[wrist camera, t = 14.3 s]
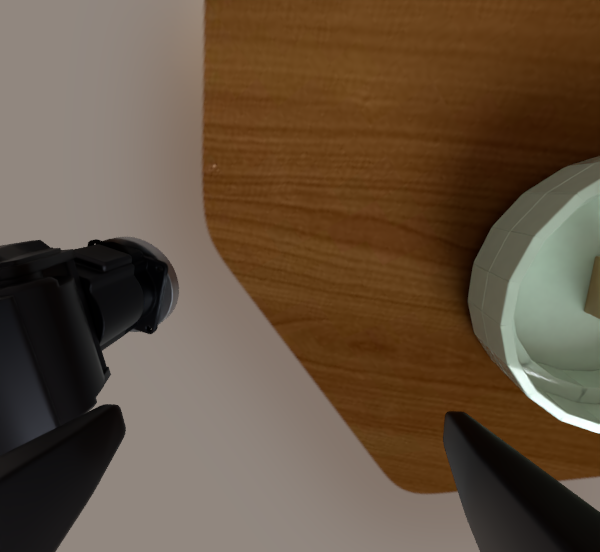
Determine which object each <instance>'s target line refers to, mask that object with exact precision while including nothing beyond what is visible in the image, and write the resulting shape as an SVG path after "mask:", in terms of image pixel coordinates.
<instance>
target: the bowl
mask: <svg viewBox="0 0 600 552" xmlns="http://www.w3.org/2000/svg"><path fill="white" fill-rule="evenodd" d="M596 256H600V156H598V157H595V158H592V159H588V160H585V161H582V162H579V163H576V164H572V165H569V166H567V167H564V168H563V169H561V170H559V171H558V172H556V173H555V174H553V175H551V176H550V177H548V178H547V179H545V180H543V181H542V182H540V183H539V184H537V185H535V186H534V187H532V188H531V189H529V190H528V191H526V192H524V194H522V195H521V196H520V197H519V198H518V199H517V200H516V201H515V202H514V204H513V205H512V206H511V207H510V208H509V209H508V210H507V211H506V212H505V213H504V214H503V215H502V216H501V217H500V219H499V220H498V221H497V222H496V223H495V224H494V225H493V226H492V228H491V229H490V231H489V233H488V235H487V237H486V239H485V241H484V243H483V245H482V247H481V249H480V251H479V253H478V255H477V257H476V259H475V261H474V263H473V268H472V274H471V281H470V287H469V293H468V306H469V311H470V315H471V320H472V325H473V330H474V333H475V335H476V337H477V338H478V340H479V341H480V343H481V344H482V346H483V347H484V349H485V350H486V352H487V354H488V355H489V357H490V358H491V359H492V361H493V362H494V363H495V364H496V365H497V366H498V367H499V368H500V369H501V370H502V371H503V372H504V373H505V374H506V375H507V376H508V377H509V378H510V379H511V380H512V381H513V382H514V383H515V384H516V385H517V386H518V387H519V388H520V389H521V390H522V391H523V392H524V394H525V395H526V396H527V397H528V398H530V399H531V400H533V401H534V402H535V403H537V404H538V405H539V406H541V407H542V408H543V409H545V410H546V411H548V412H549V413H550V414H552V415H553V416H554V417H556V418H557V419H559V420H560V421H563V422H566V423H569V424H572V425H575V426H578V427H581V428H584V429H587V430H590V431H592V432H595V433H598V434H600V319H598V318H596V317H594V316H592V315H590V314H588V313H586V312H584V308H585V304H586V299H587V294H588V289H589V284H590V279H591V275H592V270H593V265H594V260H595V257H596Z"/></svg>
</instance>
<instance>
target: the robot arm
mask: <svg viewBox="0 0 600 552" xmlns="http://www.w3.org/2000/svg"><path fill="white" fill-rule="evenodd" d="M94 244H96V245H94ZM159 266H162V268H163V270H161V269H160V267H159ZM167 274H168V265H167V264H166V263H165V262H163V261H160V260H157V259H154V258H151V257H148V256H146V255H143V253H142V252H141V251H139V250H136V249H133V248H130V247H127V246H124V245H121V244H118V243H115V242H104V241H101V240H97V239H95V240H91V241H89V242H88V246H87V247H84V248H79V249H75V250H73V249H71V250H61V249H60V248H50V247H49V246H48V245H46V244H45V243H44V242H42V241H41V240H36V241H27V242H21V243H14V244H9V245H2V246H0V552H55V551H56V550H57V548H58V547H59V545H60V544H61V542H62V541H63V539H64V538H65V536H66V534H67V533H68V531H69V530H70V528H71V527H72V525H73V524H74V522H75V521H76V519H77V518H78V516H79V515H80V513H81V511H82V510H83V508H84V506H85V505H86V504H87V502H88V500H89V499H90V497H91V496H92V494H93V492H94V490H95V489H96V487H97V485H98V484H99V482H100V480H101V478H102V476H103V474H104V473H105V471H106V469H107V467H108V465H109V463H110V462H111V460H112V458H113V456H114V454H115V452H116V451H117V449H118V447H119V445H120V443H121V442H122V440H123V438H124V435H125V431H126V430H125V429H126V427H125V423H124V419H123V416H122V412H121V409H120V407H119V406H118V405H111V404H109V405H108V404H106V405H102V406H99V407H98V408H95V409H93V410H91V409H92V408H93V407H94V405H95V404H96V403H97V401H96V396H97V395H98V393H99V392H100V391H101V389H102V388H103V386H104V384H105V383H106V381H107V380H108V378H109V376H110V375H111V374H110V371H109V367H106V364H105V360H104V357H103V354H102V350H103V349H105V348H106V347H108V346H109V345H111V344H112V343H114V342H115V341H117V340H118V339H120V338H121V337H122V336H124V335H125V334H127V333H128V332H130V331H131V330H133V329H135V330H138V331H141V332H144V333H147V334H153V333H154V332H155V331H156V330H157V328H158V322H159V317H160V312H161V306H162V301H163V296H164V290H165V285H166V280H167ZM149 326H150V327H151V328H152V329H150V328H149ZM90 410H91V411H90ZM443 442H444V447H445V451H446V454H447V457H448V460H449V464H450V467H451V470H452V473H453V477H454V480H455V483H456V486H457V490H458V493H459V496H460V499H461V503H462V506H463V509H464V512H465V515H466V517H467V520H468V523H469V525H470V528H471V530H472V533H473V535H474V538H475V540H476V543H477V545H478V547H479V550H480V552H600V512H599V511H597V510H596V509H594V508H593V507H592V506H591V505H589V504H588V503H587V502H585V501H584V500H582V499H581V498H580V497H578V496H577V495H576V494H574V493H573V492H572V491H570V490H569V489H568V488H566V487H565V486H564V485H562V484H561V483H560V482H558V481H557V480H555V479H554V478H553V477H551V476H550V475H549V474H547V473H546V472H545V471H543V470H542V469H541V468H539V467H538V466H537V465H535V464H534V463H532V462H531V461H530V460H528V459H527V458H526V457H524V456H523V455H522V454H520V453H519V452H518V451H516V450H515V449H514V448H512V447H511V446H509V445H508V444H507V443H505V442H504V441H503V440H501V439H500V438H499V437H497V436H496V435H495V434H493V433H492V432H491V431H489V430H488V429H486V428H485V427H484V426H482V425H481V424H480V423H478V422H477V421H476V420H474V419H473V418H472V417H470V416H469V415H468V414H466V413H464V412H456V411H449V412H447V413H446V415H445V423H444V435H443Z"/></svg>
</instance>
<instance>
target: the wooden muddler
mask: <svg viewBox="0 0 600 552" xmlns="http://www.w3.org/2000/svg"><path fill="white" fill-rule="evenodd" d="M584 312H586V313H588V314H590V315H592V316H594V317H596V318H598V319H600V256H596V257H595V260H594V265H593V270H592V275H591V279H590V284H589V289H588V294H587V299H586V304H585V308H584Z"/></svg>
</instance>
